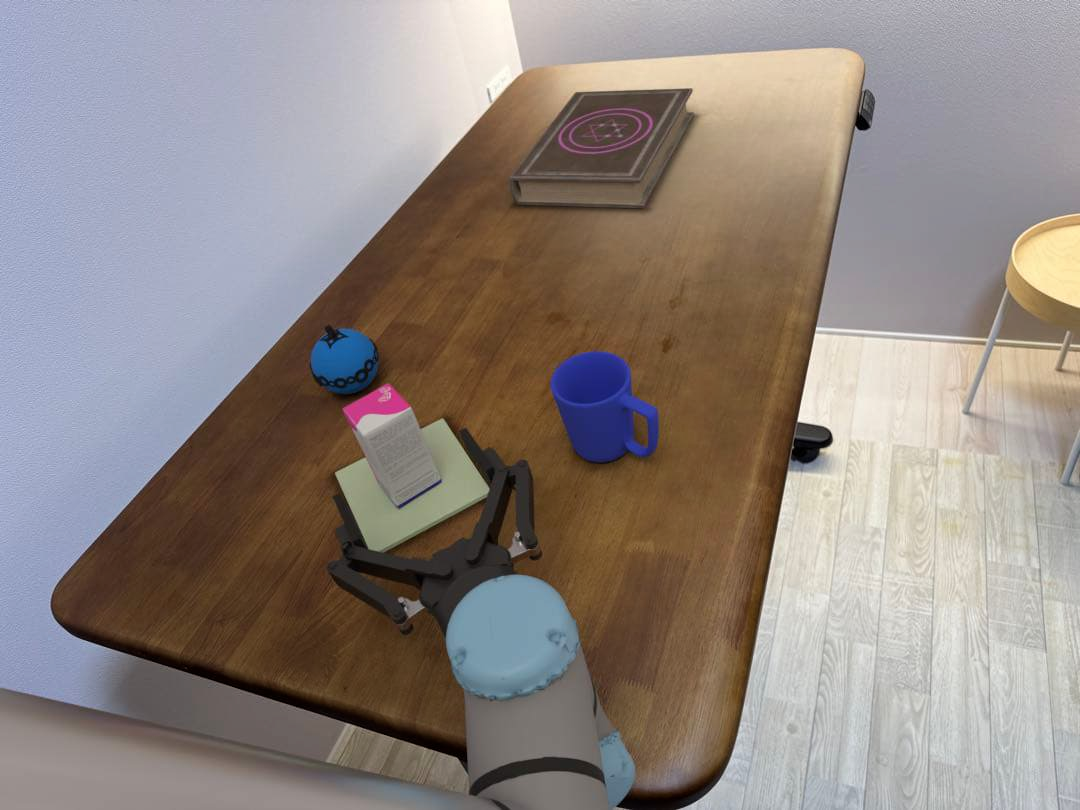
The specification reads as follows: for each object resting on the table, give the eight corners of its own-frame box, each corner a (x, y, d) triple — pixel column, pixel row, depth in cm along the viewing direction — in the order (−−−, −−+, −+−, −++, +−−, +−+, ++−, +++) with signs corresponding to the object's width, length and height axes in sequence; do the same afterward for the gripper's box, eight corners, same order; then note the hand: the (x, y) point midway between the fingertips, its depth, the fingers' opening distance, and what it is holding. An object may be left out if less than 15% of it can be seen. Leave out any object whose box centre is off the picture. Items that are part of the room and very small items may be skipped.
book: (643, 208, 119) (640, 179, 115) (513, 204, 128) (506, 177, 124) (694, 115, 137) (692, 87, 134) (577, 117, 146) (572, 91, 143)
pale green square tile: (373, 558, 81) (371, 555, 80) (336, 475, 90) (334, 472, 90) (492, 494, 84) (491, 490, 83) (444, 421, 93) (442, 417, 93)
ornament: (400, 380, 101) (374, 320, 94) (345, 418, 97) (313, 358, 91) (367, 355, 106) (339, 296, 99) (313, 390, 103) (281, 331, 96)
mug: (639, 499, 79) (627, 432, 72) (552, 452, 86) (533, 387, 79) (685, 448, 83) (678, 380, 76) (598, 407, 90) (585, 341, 83)
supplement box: (444, 481, 85) (412, 407, 78) (398, 511, 84) (360, 438, 76) (421, 453, 89) (388, 380, 82) (376, 481, 88) (338, 409, 80)
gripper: (368, 736, 62) (302, 554, 76) (633, 578, 67) (523, 437, 82) (332, 693, 56) (269, 507, 71) (622, 526, 62) (507, 386, 77)
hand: (404, 469), depth 77 cm, fingers open, 13 cm apart
